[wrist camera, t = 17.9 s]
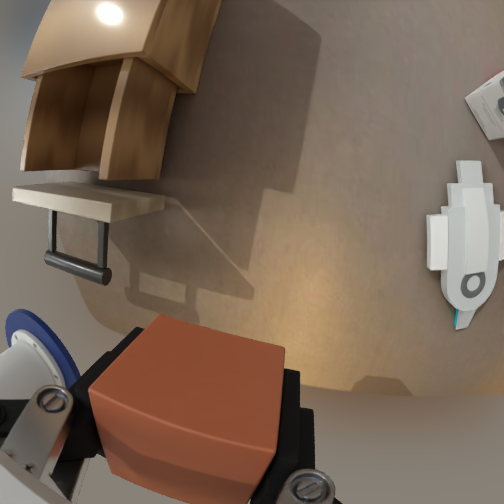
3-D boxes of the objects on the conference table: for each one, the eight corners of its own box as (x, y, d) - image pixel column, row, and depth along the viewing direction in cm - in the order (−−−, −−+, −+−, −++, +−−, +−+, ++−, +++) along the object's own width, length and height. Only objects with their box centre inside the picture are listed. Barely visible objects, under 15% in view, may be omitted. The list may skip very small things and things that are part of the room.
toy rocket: (418, 161, 20) (429, 159, 18) (497, 162, 18) (511, 162, 16) (417, 334, 23) (426, 346, 21) (490, 317, 22) (501, 326, 19)
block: (156, 399, 10) (110, 473, 6) (159, 312, 9) (86, 388, 5) (257, 428, 10) (240, 516, 6) (285, 346, 9) (277, 452, 5)
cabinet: (196, 94, 21) (142, 51, 12) (87, 96, 22) (20, 77, 13) (231, -25, 17) (206, -85, 8) (125, -12, 19) (81, -50, 9)
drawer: (157, 273, 24) (108, 308, 17) (67, 247, 26) (13, 267, 18) (194, 57, 20) (155, 15, 12) (93, 65, 21) (42, 43, 13)
